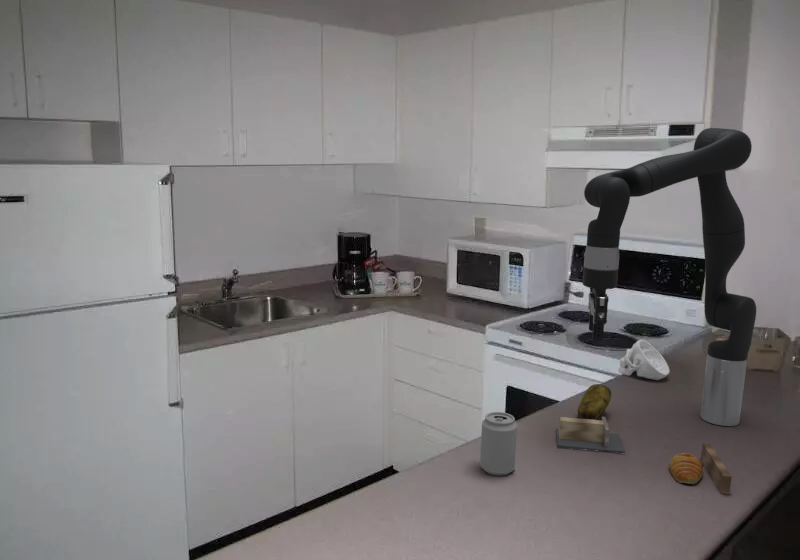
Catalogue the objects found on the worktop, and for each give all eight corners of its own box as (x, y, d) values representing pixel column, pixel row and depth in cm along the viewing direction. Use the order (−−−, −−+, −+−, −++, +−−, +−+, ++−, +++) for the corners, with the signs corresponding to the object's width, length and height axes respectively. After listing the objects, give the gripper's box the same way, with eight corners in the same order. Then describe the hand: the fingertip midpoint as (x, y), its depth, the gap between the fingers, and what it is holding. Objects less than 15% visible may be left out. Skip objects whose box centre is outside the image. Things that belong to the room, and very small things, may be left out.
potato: (563, 418, 174) (565, 388, 172) (593, 407, 182) (595, 378, 180) (590, 428, 167) (593, 398, 166) (620, 416, 175) (623, 387, 174)
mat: (555, 430, 165) (555, 428, 165) (618, 436, 163) (619, 433, 163) (557, 447, 156) (558, 445, 156) (625, 453, 153) (625, 451, 153)
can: (517, 464, 147) (520, 412, 144) (511, 480, 140) (514, 425, 138) (483, 459, 149) (486, 407, 147) (476, 473, 142) (478, 420, 140)
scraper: (559, 443, 157) (561, 425, 156) (558, 429, 164) (559, 412, 163) (607, 447, 155) (609, 429, 154) (603, 434, 162) (605, 416, 162)
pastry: (704, 489, 138) (706, 472, 137) (669, 483, 140) (670, 466, 140) (701, 470, 147) (703, 454, 146) (668, 464, 149) (669, 448, 148)
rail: (700, 459, 151) (702, 442, 151) (708, 460, 151) (710, 443, 150) (721, 493, 136) (723, 475, 135) (729, 494, 136) (731, 476, 135)
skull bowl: (621, 361, 218) (644, 334, 212) (654, 392, 212) (679, 365, 206) (606, 367, 211) (629, 340, 205) (640, 400, 204) (665, 373, 198)
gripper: (622, 272, 144) (616, 345, 147) (614, 261, 158) (608, 328, 161) (586, 270, 145) (581, 342, 148) (581, 260, 159) (576, 326, 162)
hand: (595, 335), depth 155 cm, fingers open, 8 cm apart
